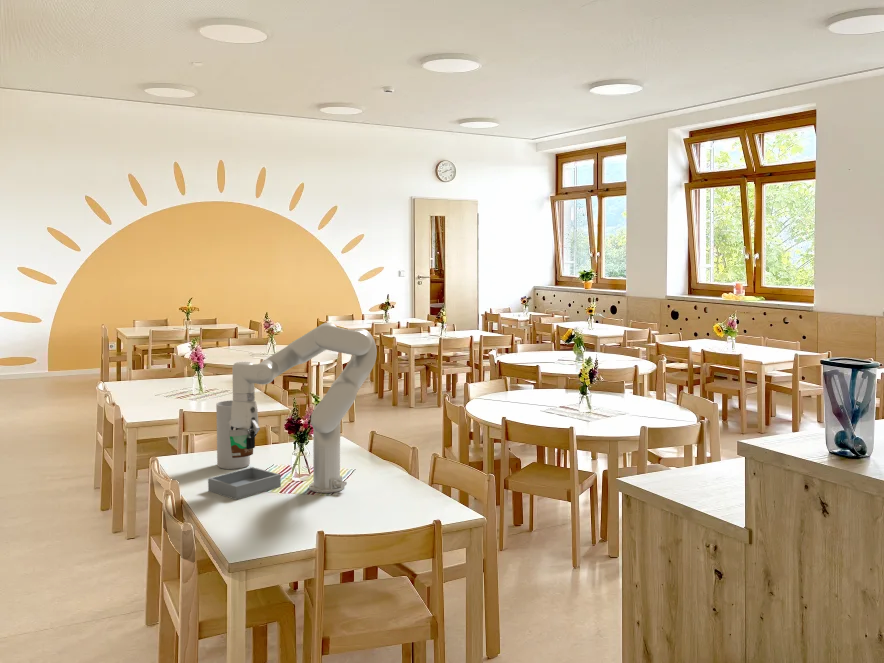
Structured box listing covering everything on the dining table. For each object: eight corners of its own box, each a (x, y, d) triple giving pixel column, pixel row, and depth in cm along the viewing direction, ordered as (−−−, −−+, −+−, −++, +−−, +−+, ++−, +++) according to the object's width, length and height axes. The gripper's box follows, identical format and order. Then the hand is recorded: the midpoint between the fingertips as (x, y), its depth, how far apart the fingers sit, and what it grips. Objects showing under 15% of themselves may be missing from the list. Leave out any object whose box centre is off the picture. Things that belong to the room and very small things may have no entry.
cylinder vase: (256, 464, 314) (255, 402, 312) (232, 471, 304) (231, 407, 301) (235, 459, 321) (234, 399, 318) (210, 466, 311) (209, 403, 308)
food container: (246, 459, 274) (244, 430, 273) (230, 458, 275) (228, 430, 274) (262, 450, 286) (261, 423, 285) (247, 450, 287) (245, 423, 286)
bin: (280, 486, 285) (280, 474, 285) (236, 499, 269) (236, 486, 269) (252, 478, 294) (252, 466, 294) (208, 490, 279) (208, 478, 278)
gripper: (268, 398, 276) (268, 448, 278) (236, 392, 287) (237, 441, 289) (251, 401, 270) (251, 452, 272) (219, 395, 281) (220, 444, 283)
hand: (244, 446), depth 280 cm, fingers closed on food container, 6 cm apart
